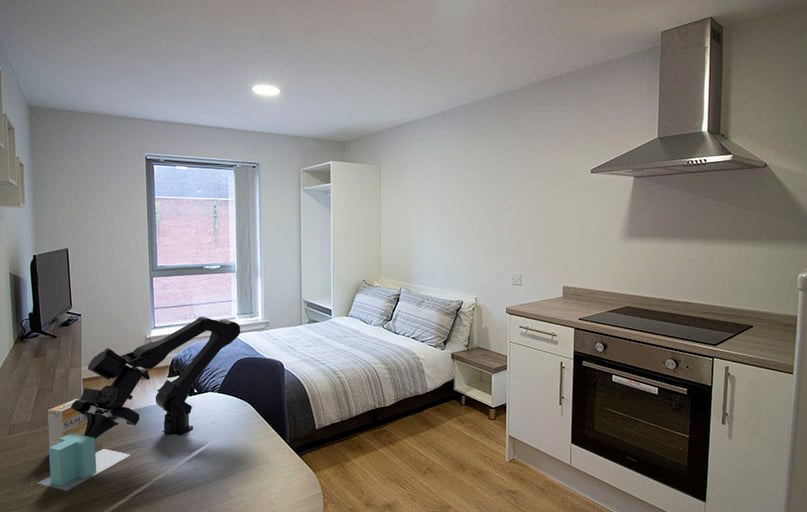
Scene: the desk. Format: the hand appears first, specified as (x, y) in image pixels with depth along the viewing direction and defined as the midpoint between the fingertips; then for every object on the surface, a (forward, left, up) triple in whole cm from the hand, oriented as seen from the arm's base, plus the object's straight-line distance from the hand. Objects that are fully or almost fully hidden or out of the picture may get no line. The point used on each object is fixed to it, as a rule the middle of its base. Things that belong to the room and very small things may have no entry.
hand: (84, 444), depth 112 cm
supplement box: (-7, -15, -7) cm, 18 cm away
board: (0, 0, -7) cm, 7 cm away
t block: (+4, 0, -6) cm, 7 cm away
